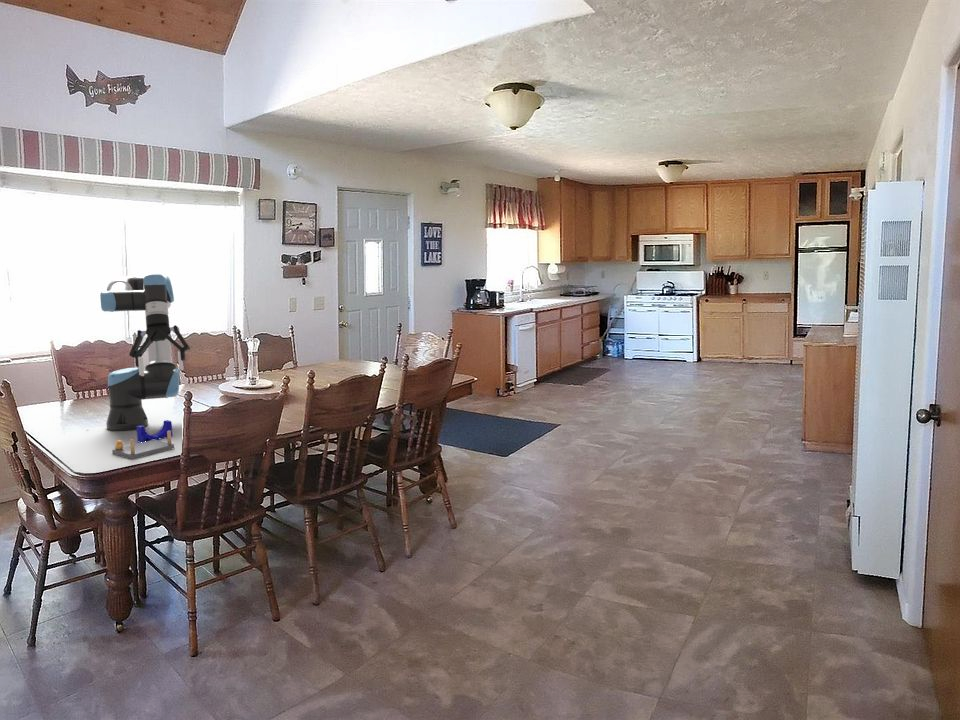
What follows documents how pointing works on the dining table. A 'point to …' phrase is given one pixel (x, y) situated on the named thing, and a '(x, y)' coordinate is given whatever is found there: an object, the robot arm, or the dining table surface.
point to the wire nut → (119, 445)
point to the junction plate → (144, 448)
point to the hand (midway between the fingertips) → (161, 372)
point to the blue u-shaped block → (144, 436)
